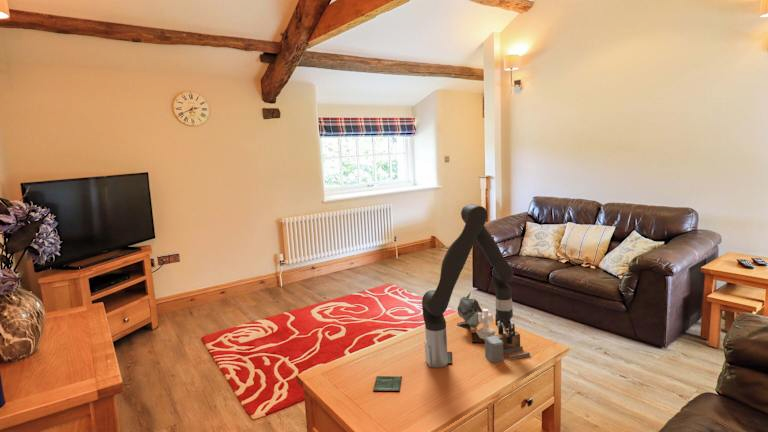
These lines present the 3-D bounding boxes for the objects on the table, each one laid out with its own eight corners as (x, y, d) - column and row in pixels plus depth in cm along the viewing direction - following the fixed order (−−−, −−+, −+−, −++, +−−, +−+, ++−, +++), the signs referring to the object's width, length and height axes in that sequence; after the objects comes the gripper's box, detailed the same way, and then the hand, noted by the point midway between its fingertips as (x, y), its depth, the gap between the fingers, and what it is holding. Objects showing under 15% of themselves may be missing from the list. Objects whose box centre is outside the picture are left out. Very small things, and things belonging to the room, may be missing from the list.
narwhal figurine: (456, 335, 218) (455, 302, 215) (457, 323, 233) (455, 291, 230) (485, 335, 215) (484, 302, 213) (483, 323, 230) (482, 291, 227)
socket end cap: (492, 363, 189) (491, 344, 187) (485, 356, 195) (484, 337, 194) (503, 360, 190) (503, 342, 189) (496, 353, 197) (495, 335, 195)
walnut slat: (493, 353, 198) (492, 339, 197) (489, 350, 201) (489, 336, 200) (520, 348, 201) (520, 334, 200) (516, 345, 204) (516, 331, 203)
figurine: (498, 337, 213) (497, 308, 211) (485, 343, 208) (484, 314, 205) (486, 332, 219) (485, 304, 216) (474, 338, 213) (473, 310, 211)
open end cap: (509, 359, 191) (509, 356, 190) (502, 352, 197) (502, 349, 197) (529, 355, 193) (529, 352, 192) (521, 349, 199) (521, 346, 199)
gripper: (489, 303, 204) (491, 334, 206) (504, 314, 190) (505, 347, 193) (504, 300, 205) (505, 332, 208) (519, 311, 191) (520, 344, 194)
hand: (505, 339), depth 200 cm, fingers open, 8 cm apart
